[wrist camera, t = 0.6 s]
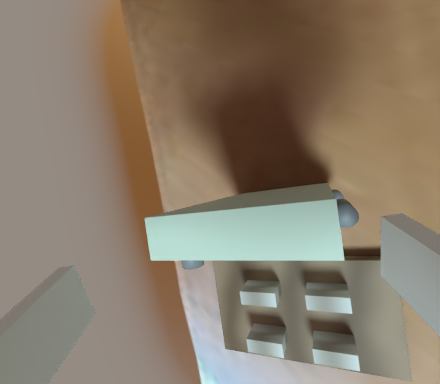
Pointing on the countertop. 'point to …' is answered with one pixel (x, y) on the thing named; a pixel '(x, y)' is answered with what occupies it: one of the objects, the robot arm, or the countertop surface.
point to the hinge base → (315, 313)
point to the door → (255, 227)
